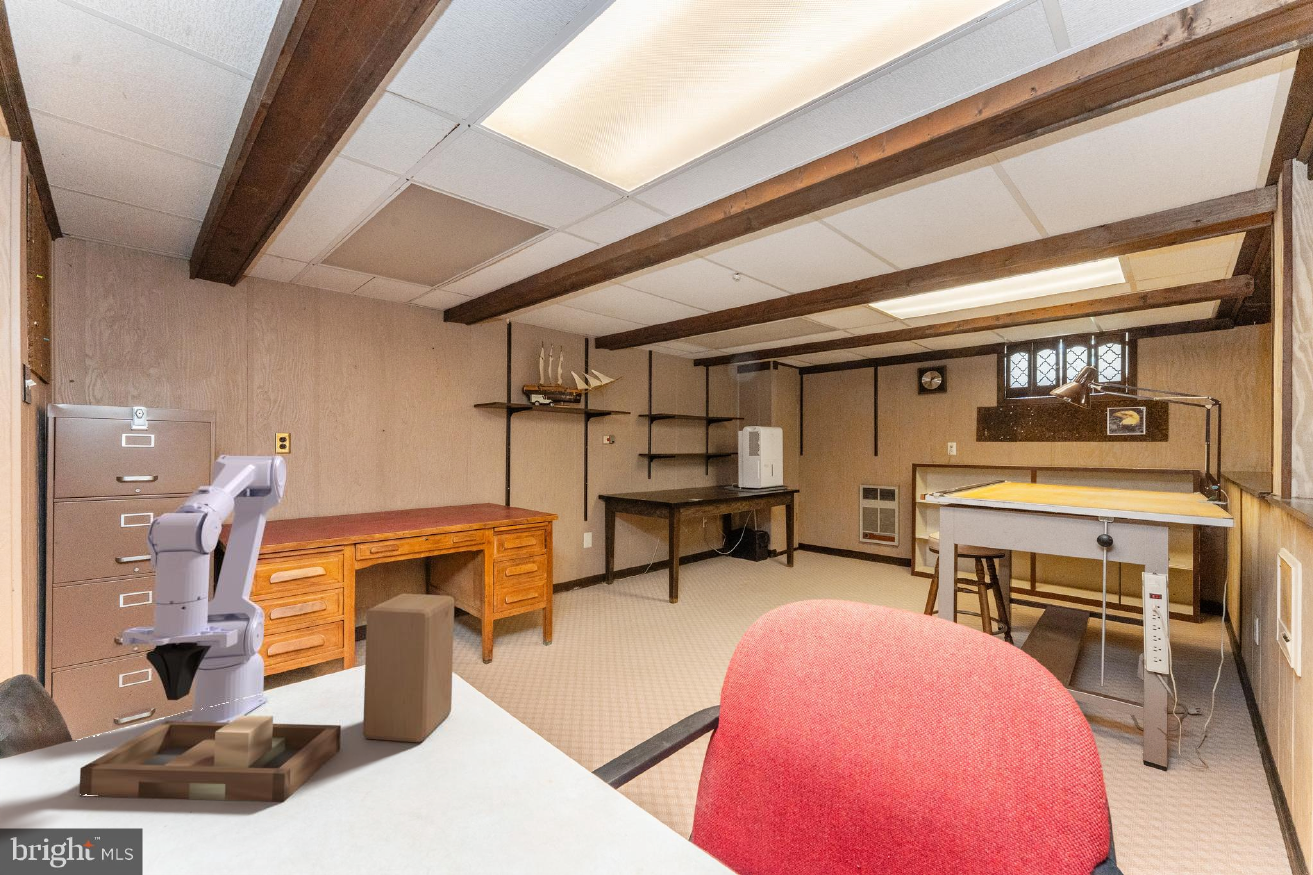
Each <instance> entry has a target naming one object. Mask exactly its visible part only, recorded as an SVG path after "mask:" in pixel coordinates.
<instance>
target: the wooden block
mask: <svg viewBox="0 0 1313 875" xmlns="http://www.w3.org/2000/svg"><path fill="white" fill-rule="evenodd" d="M454 626H455V598H454V596H450V595H439V594H438V595H437V594H420V593H419V594H418V593H417V594H416V593H401V594H399V595H396V596H394V597H392V598H390V599H388V600H386V601H384V602H382V603H381V602H380V603H379V604H377V605H374V606H373V607H370V608H369V609H368V611H367V613H366V628H365V630H366V631H365V632H366V633H365V660H364V661H365V663H364V664H365V666H364V692H363V693H364V694H363V695H364V696H363V720H362V721H363V722H362V725H363V726H362V727H363V728H362V730H363V732H362V734H363V737H364V738H366V739H368V740H369V739H370V740H371V739H372V740H383V741H393V742H394V741H397V742H408V743H409V742H410V743H420V742H423V741H425V740H426V739H427V738H428V737H429V736H430V735H431V734H432V733H433V732H434V731H435V730H436V729H437V728H439V726H440V725H441V724H442V722H444V721H445V720H446V719H447V718H448V717H449V716H450V713H451V712H452V696H453V694H452V693H453V691H452V690H453V662H454V661H453V660H454V656H453V655H454V654H453V653H454V628H455V627H454Z"/></svg>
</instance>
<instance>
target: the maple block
mask: <svg viewBox="0 0 1313 875" xmlns="http://www.w3.org/2000/svg"><path fill="white" fill-rule="evenodd" d="M273 724H274V716H272V715H247V714H245V715H241V716H240V717H238V718H237V719H235V720H233V721H232V722H230V723H229V724H227V725H225V726H224V727H222V728H221V729H219V730H218V731H216V732H215V755H214V766H227V767H248V766H250V765H251V764H252V763H254V762H255V761H256V760H258V759H259V758H260V757H262V756H263V755H264V754H265V753H267V752H268V751H269V750H271V749H272V733H273Z"/></svg>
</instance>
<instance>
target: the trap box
mask: <svg viewBox="0 0 1313 875" xmlns="http://www.w3.org/2000/svg"><path fill="white" fill-rule="evenodd" d="M227 724H229V722H189V721H181V720H179V721H178V720H166V721H164V722H162V723H160V724H158V725H156V726H155V727H153V728H151V729H149V730H147V731H145V732H143V733H142V734H140V735H138V736H137V737H134V738H133V739H131V740H129V741H127V742H126V743H124V744H122V745H120V746H118V747H116V748H114V749H113V750H111V751H109V752H107V753H106V754H104V755H101V756H100V757H98V758H96V759H95V760H93V761H91V762H89V763H87V764H85V765H83V766H82V767H80V768H79V769H80V770H79V791H78V792H79V794H81V795H85V794H87V795H98V796H102V797H101V798H125V799H126V798H130V799H131V798H132V799H163V800H164V799H165V800H166V799H170V800H171V799H172V800H174V799H175V800H208V801H212V800H213V801H238V802H240V801H243V802H248V801H249V802H275V803H276V802H278V803H279V802H281V803H283V802H284V803H285V801H286V800H288V799H289V798H290V797H291V795H293V793H295V792H296V791H297V790H298V789H300V787H301V786H303V785H304V784H305V782H307V781H308V780H309V779H310V778H311V777H313V775H314V774H315V773H316V772H317V771H318V770H320V769H321V768H322V767H323V766H324V765H325V764H326V763H327V762H328V761H330V759H331V758H332V757H333V756H335V755H336V754H337V753H338V752H339V751H340V750H341V733H342V732H341V730H342V727H341V726H342V725H340V724H339V725H338V724H337V725H336V724H304V723H303V724H302V723H299V724H298V723H297V724H296V723H273V733H272V749H271V750H269V751H268V752H267V753H265V754H264V755H263V756H262V757H260V758H259V759H258V760H256V761H255V762H254V763H252V764H251V765H250V766H248V767H227V766H214V755H215V732H216V731H218V730H219V729H221V728H222V727H224V726H225V725H227ZM79 794H78V795H79ZM104 796H105V797H104Z"/></svg>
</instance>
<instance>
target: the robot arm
mask: <svg viewBox="0 0 1313 875" xmlns="http://www.w3.org/2000/svg"><path fill="white" fill-rule="evenodd" d="M211 477H212V481H211V482H210V484H209V485H201V486H199V487H198V488H197V489H195V490H194V491H193V492H192V493H191V494H190V495H189V496H188V497H187V498H186V499H185V500H184V501H183V502H182V503H180V505H179V506H178V507H177V508H176V509H175V510H174V511H173V512H165V513H163V514H161V515H160V516H157V517H155V518H154V519H153V520H152V522H151V523H150V525H149V526H148V527H149V528H148V531H147V536H146V545H147V546H146V547H147V550H148V552H149V554H150V566H151V569H155V576H154V577H155V580H154V602H153V604H154V608H153V626H136V627H133V628H129V629H127V630H126V629H125V630H124V631H122V646H126V647H127V646H133V645H149V646H155V647H154V648H153V649H152V650H151V651H148V652H147V653H146V660H148V662H149V663H150V664H151V665H152V667H153V668H154V669H155V671H156V673H157V674H158V676H159V678H160V681H161V684H162V687H163V689H164V690H163V691H164V693H165V697H166V699H167V701H178V700H180V699H182V698H184V697H186V696H189V695H190V691H191V688H192V685H193V699H192V700H193V701H192V702H193V704H192V706H193V708H192V713H191V714H189V715H188V716H185V717H184V718H183V719H181V720H180V721H189V722H229V723H230V722H232V721H233V720H235V719H237V718H238V717H240V716H241V715H247V714H248V713H250V712H252V711H253V710H255V709H256V708H258V707H259V706H261V705H262V704H264V703H266V702H268V700H269V697H266V696H264V685H265V684H264V683H265V679H264V677H265V663H264V662H265V661H264V659H263V657H262V656H261V654H260V653H258V652H259V651H260V649H261V648H262V644H263V641H264V635H265V619H266V618H265V617H266V615H265V612H264V610H263V608H261V607H260V606H259V605H258V604H257V603H255V602H253V601H252V600H250V597H251V592H252V591H251V590H252V587H253V582H254V577H255V571H256V568H257V563H258V559H259V556H260V549H261V546H262V545H261V544H262V540H263V537H264V536H263V535H264V531H265V528H266V527H265V526H266V523H267V519H268V515H269V512H270V510H271V509H272V508H275V507H276V506H278V505H279V504H281V501H282V498H283V494H284V491H285V490H284V489H285V485H286V482H287V481H286V480H287V466H286V462H285V459H284V458H283V457H282V456H281V455H274V456H273V455H272V456H271V455H270V456H267V455H265V456H264V455H263V456H262V455H227V454H221V455H220V456H218V457H217V458H216V459H215V461H214V463H213V466H212V471H211ZM232 512H234V515H233V520H232V524H231V528H230V532H229V537H228V541H227V545H226V548H225V551H224V552H225V553H224V556H223V559H222V564H221V568H220V573H219V576H218V581H217V584H216V589H215V592H214V596H213V599H211V600H209V589H210V587H209V585H210V560H211V559H210V558H211V552H212V551H214V550H216V546H217V543H218V541H219V537H220V534H221V533H222V528H223V526H222V524H223V523H224V522H225V521H226V519H227V518H228V517H229V516H230V514H231V513H232ZM261 693H263V694H262V695H257V694H261ZM252 695H256V696H254V697H249V696H252ZM244 697H249V698H245V699H243V698H244ZM236 699H238V700H236ZM235 700H236V701H235ZM226 702H229V703H226ZM222 703H225V704H222ZM218 704H220V705H218ZM215 705H217V706H215ZM210 706H213V707H210ZM202 708H203V709H202ZM201 709H202V710H201Z"/></svg>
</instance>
